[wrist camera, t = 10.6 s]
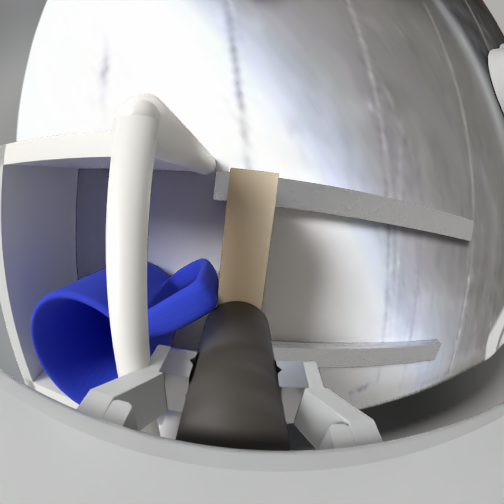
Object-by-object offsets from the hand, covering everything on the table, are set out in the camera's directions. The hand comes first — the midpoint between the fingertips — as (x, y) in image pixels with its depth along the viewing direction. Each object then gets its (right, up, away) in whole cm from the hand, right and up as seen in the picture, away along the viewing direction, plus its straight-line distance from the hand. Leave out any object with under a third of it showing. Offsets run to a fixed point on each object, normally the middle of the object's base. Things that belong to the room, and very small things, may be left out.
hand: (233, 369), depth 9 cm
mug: (-7, +2, +12) cm, 13 cm away
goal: (-10, +4, +11) cm, 15 cm away
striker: (0, +2, +10) cm, 10 cm away
